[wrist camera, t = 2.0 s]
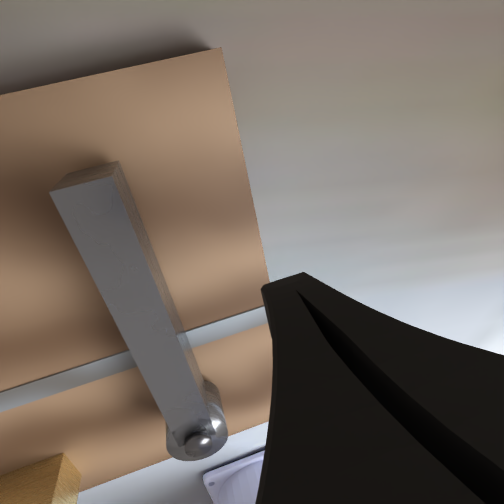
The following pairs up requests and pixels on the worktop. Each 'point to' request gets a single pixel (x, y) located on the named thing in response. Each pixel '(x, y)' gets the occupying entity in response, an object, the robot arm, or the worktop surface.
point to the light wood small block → (42, 483)
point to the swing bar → (141, 305)
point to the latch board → (164, 245)
